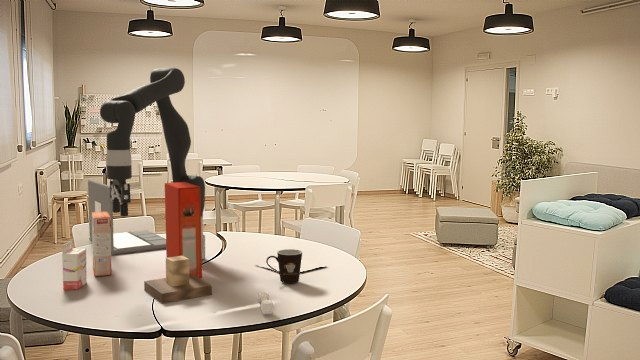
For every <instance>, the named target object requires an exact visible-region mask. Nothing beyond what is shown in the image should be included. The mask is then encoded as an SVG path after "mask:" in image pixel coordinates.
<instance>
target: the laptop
mask: <svg viewBox="0 0 640 360" xmlns="http://www.w3.org/2000/svg"><path fill="white" fill-rule="evenodd" d="M87 192H88V193H87V196H88V197H87V198H88V224H89V225H88V228H89V233H88V234H89V237H88V240H89V241H91V242H92V212H108V213H109V216H110V218H111V256H117V255H123V254H131V253H132V254H133V253H141V252H148V251H157V250H158V251H159V250H163V249H164V250H165V249H166V237H165V238H164V237H163V236H161V235H159V234H156V233H154V232H152V231H150V230H148V229H144V230H134V231H123V232H114V213H113V204H112V202H113V201H112V200H111V199H110V185H108V184H105V183H102V182H99V181H95V180H93V179H90V178H89V179H87Z"/></svg>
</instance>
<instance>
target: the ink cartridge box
mask: <svg viewBox="0 0 640 360" xmlns="http://www.w3.org/2000/svg"><path fill="white" fill-rule="evenodd" d="M61 253H62V254H61V255H62V257H61V258H62V259H61V260H62V284H63V285H62V288H63V290H65V291H67V290H79V289H81V287H83V286H84V285H85V284H87V282H88V281H87V277H88V276H87V248H73V240H72V239H71V240H69V241H67V242H66V243H64V244H63V245H62V252H61Z"/></svg>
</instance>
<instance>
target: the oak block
mask: <svg viewBox="0 0 640 360" xmlns="http://www.w3.org/2000/svg"><path fill="white" fill-rule="evenodd" d="M165 278H166V283H168V284H169V285H171V286H172V287H174V286H180V285H186V284H189V259H188V258H186V257H184V256H176V257H168V258H167V257H165Z"/></svg>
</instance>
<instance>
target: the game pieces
mask: <svg viewBox="0 0 640 360" xmlns="http://www.w3.org/2000/svg"><path fill="white" fill-rule="evenodd" d="M257 295H258V296H257V298H258V301H259V302H260V304H261V305H260V311H261V314H263V315H265V314H273V313H274V301H273V300H272V299H270V293H268V292H265V291H263V292H260V293H257Z"/></svg>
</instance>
